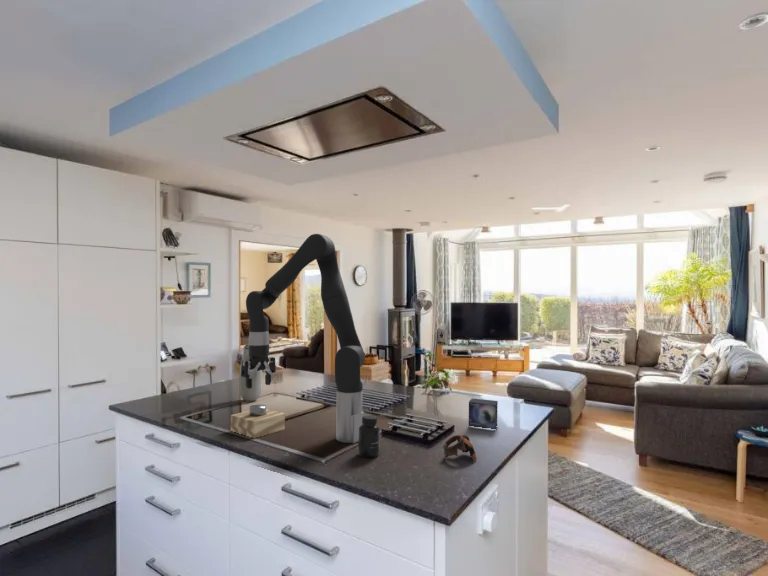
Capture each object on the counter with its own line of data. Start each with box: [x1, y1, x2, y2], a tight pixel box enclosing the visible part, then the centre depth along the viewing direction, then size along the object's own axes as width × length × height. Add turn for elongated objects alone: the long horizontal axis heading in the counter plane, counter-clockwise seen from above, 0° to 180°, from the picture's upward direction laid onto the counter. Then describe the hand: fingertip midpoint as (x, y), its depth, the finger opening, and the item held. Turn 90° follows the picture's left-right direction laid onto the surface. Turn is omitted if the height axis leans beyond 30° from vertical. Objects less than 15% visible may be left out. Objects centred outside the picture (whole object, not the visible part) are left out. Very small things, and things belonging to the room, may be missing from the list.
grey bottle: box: [239, 342, 263, 402], centre depth 210 cm, size 10×10×28 cm
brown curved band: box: [442, 434, 478, 463], centre depth 137 cm, size 12×10×8 cm
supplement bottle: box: [357, 414, 381, 459], centre depth 139 cm, size 7×7×12 cm
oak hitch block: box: [230, 408, 286, 439], centre depth 163 cm, size 14×14×6 cm
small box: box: [468, 397, 499, 430], centre depth 169 cm, size 11×6×10 cm, turn 68°
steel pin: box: [249, 403, 267, 417], centre depth 163 cm, size 6×6×8 cm
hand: (258, 386), depth 163 cm, fingers open, 8 cm apart
